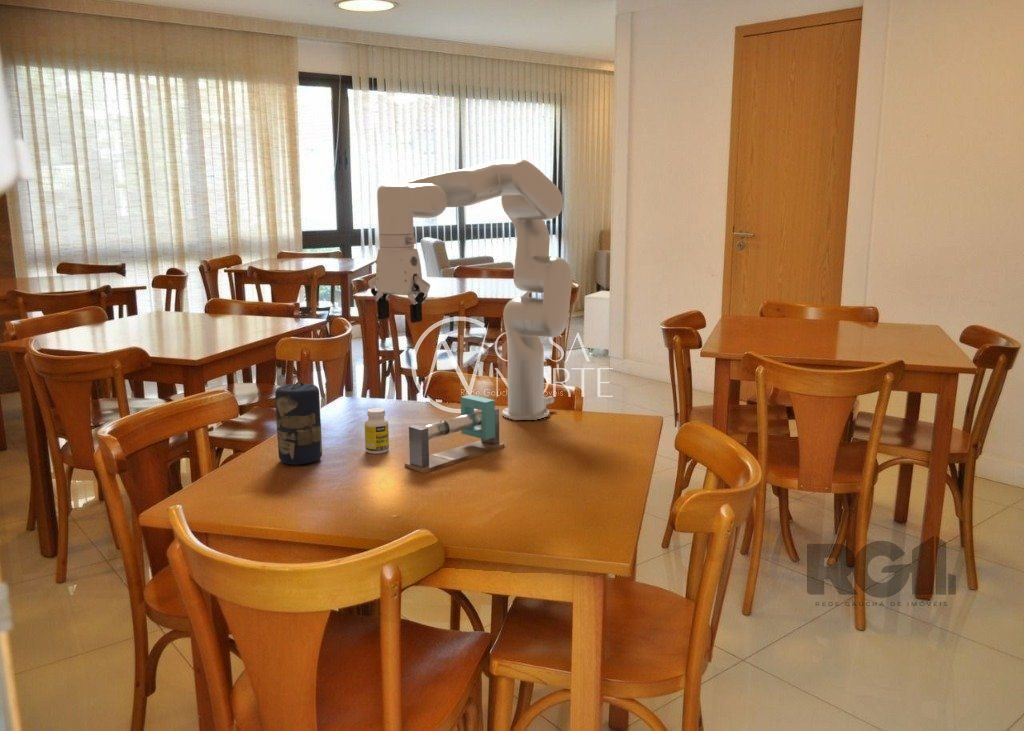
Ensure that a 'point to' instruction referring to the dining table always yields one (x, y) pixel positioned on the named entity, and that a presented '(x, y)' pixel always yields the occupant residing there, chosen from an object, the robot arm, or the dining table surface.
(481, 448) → the base board
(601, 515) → the dining table surface
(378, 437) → the supplement bottle
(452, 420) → the rail
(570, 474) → the dining table surface
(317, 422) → the canister
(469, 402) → the teal rectangular frame
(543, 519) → the dining table surface
